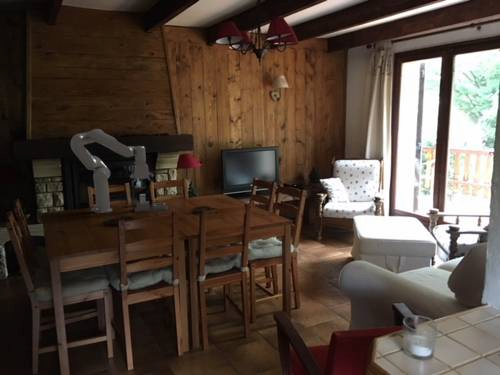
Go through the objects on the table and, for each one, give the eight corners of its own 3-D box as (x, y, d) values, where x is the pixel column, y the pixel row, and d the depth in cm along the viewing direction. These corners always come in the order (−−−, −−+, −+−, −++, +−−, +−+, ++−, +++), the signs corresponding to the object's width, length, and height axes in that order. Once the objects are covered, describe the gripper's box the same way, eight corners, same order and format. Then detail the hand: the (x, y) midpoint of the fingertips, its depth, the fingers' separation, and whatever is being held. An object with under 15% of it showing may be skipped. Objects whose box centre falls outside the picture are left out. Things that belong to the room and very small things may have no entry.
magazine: (156, 201, 340) (147, 185, 334) (142, 210, 334) (133, 194, 328) (154, 201, 343) (145, 185, 337) (140, 210, 337) (131, 194, 331)
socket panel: (134, 212, 312) (134, 204, 311) (135, 209, 322) (134, 201, 321) (168, 210, 317) (167, 202, 316) (167, 207, 328) (167, 199, 327)
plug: (140, 207, 316) (139, 195, 314) (140, 206, 319) (139, 194, 318) (145, 206, 316) (145, 195, 315) (145, 205, 320) (145, 194, 319)
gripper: (128, 164, 307) (130, 187, 310) (153, 162, 311) (154, 186, 314) (128, 163, 314) (130, 186, 317) (152, 161, 318) (154, 184, 321)
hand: (142, 186), depth 315 cm, fingers open, 9 cm apart
